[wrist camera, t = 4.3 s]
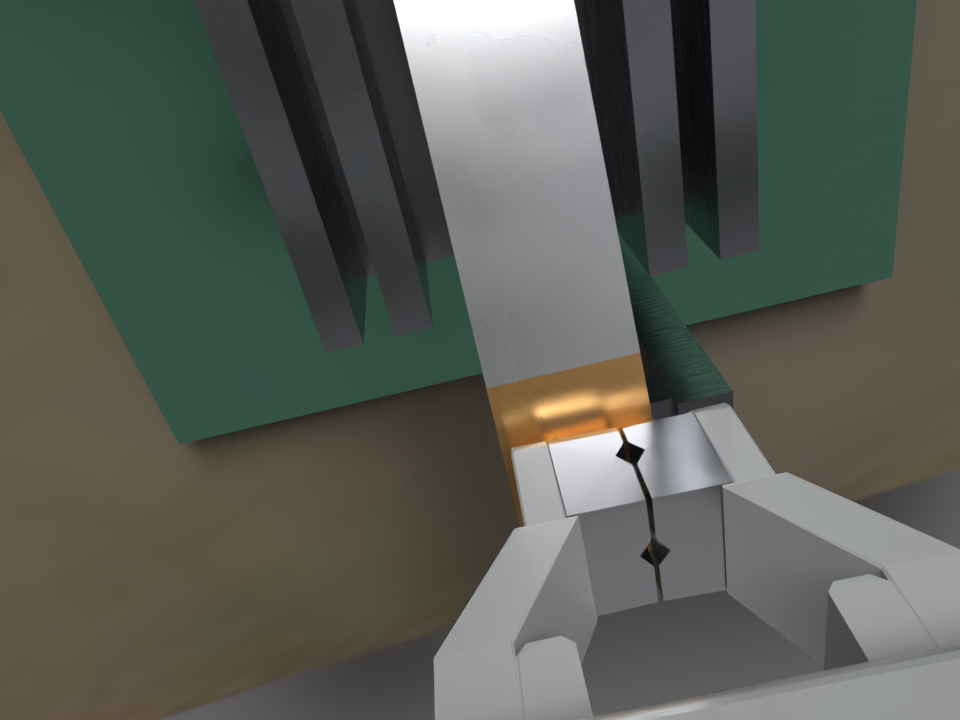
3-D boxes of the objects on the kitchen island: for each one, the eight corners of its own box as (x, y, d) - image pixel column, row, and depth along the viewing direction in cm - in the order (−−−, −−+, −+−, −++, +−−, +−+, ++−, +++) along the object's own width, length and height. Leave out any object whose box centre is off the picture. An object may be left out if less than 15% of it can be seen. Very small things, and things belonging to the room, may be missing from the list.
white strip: (506, 547, 12) (513, 592, 11) (260, -454, 9) (227, -565, 8) (675, 509, 12) (703, 549, 11) (484, -511, 9) (489, -634, 8)
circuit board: (188, 421, 20) (109, 623, 14) (-247, -422, 11) (-862, -742, 6) (869, 260, 19) (1064, 403, 14) (939, -730, 11) (1506, -1384, 5)
